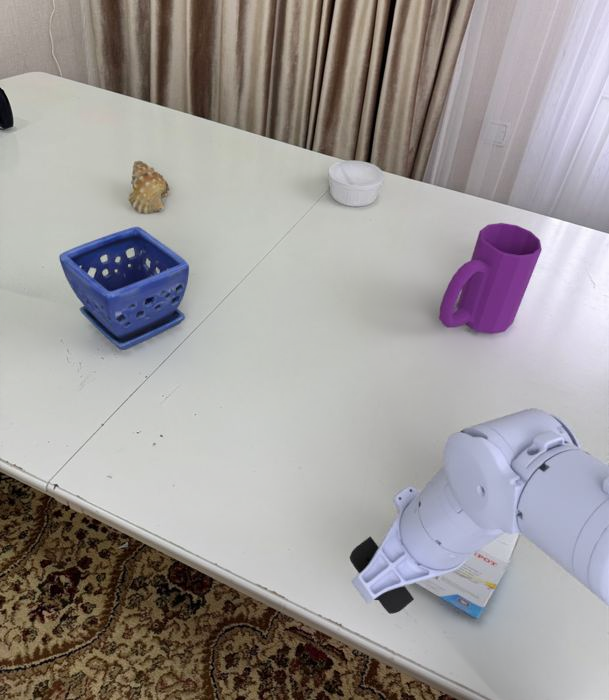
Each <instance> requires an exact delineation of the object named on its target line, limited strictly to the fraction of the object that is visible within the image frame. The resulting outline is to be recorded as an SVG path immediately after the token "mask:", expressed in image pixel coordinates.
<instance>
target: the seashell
mask: <svg viewBox="0 0 609 700" xmlns="http://www.w3.org/2000/svg"><path fill="white" fill-rule="evenodd" d="M132 169H133V170H132V175H131V182H130V183H131V185H132V189H133V190H132V191H131V193H130V194H129V195H128V197H127V198H128V201H129V203H130V206H131V207H132V208H133V210H134V211H136V212H137V213H139V214H143V215H147V214H149V215H150V214H153V213H157V212H158V211H160V212H161V211H164V210H165V206H164V204H163V202H162V199H164V198H167V197H168V195H170V189H171V188H170V186H169V184H168V182H167V180H165V178H164V176H163V175H162V174H161V173H160V172H158V171H155V168H154V167H151V166H149V165H148V164H147V163H145V162H143V161H142V160H137V161H134V162H133V166H132Z"/></svg>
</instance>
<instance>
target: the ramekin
mask: <svg viewBox="0 0 609 700" xmlns="http://www.w3.org/2000/svg"><path fill="white" fill-rule="evenodd" d="M327 178H328V185H329V193H330V196H331V197H332V199H333V200H334V201H336V202H337V203H339V204H341V205H344V206H346V207H347V206H348V207H355V208H357V207H365V206H366V207H367V206H369V205H371V204H372V203H373V202H375V201H376V200H377V198H378V195H379V193H380V191H381V187H382V185H383V183H384V181H385V173H384V172H383V171H382V169H381V168H380V167H379V166H377V165H375V164H373V163H370V162H367V161H362V160H354V159H353V160H352V159H351V160H341V161H338V162H335V163H333V164H332V165H330V166H329V168H328V170H327Z"/></svg>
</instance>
